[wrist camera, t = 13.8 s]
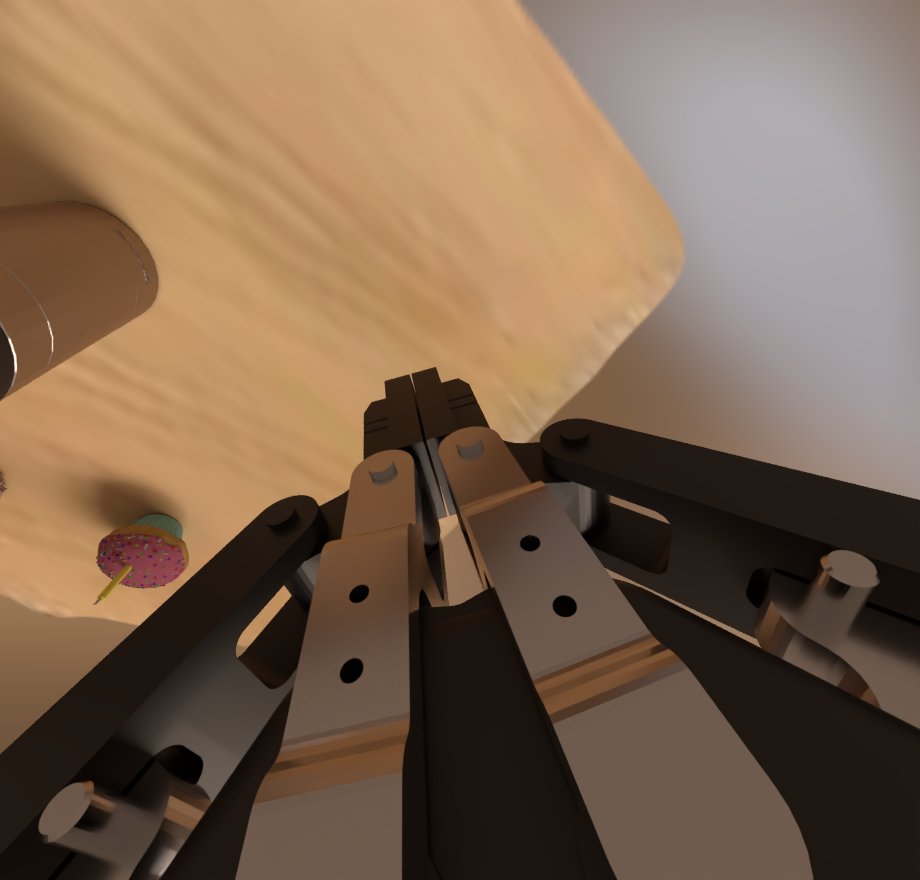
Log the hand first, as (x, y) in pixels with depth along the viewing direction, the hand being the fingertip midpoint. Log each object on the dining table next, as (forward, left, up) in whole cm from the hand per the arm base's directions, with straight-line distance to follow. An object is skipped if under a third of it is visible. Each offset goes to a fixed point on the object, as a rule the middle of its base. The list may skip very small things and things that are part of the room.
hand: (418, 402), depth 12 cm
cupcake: (-35, -24, -31) cm, 53 cm away
